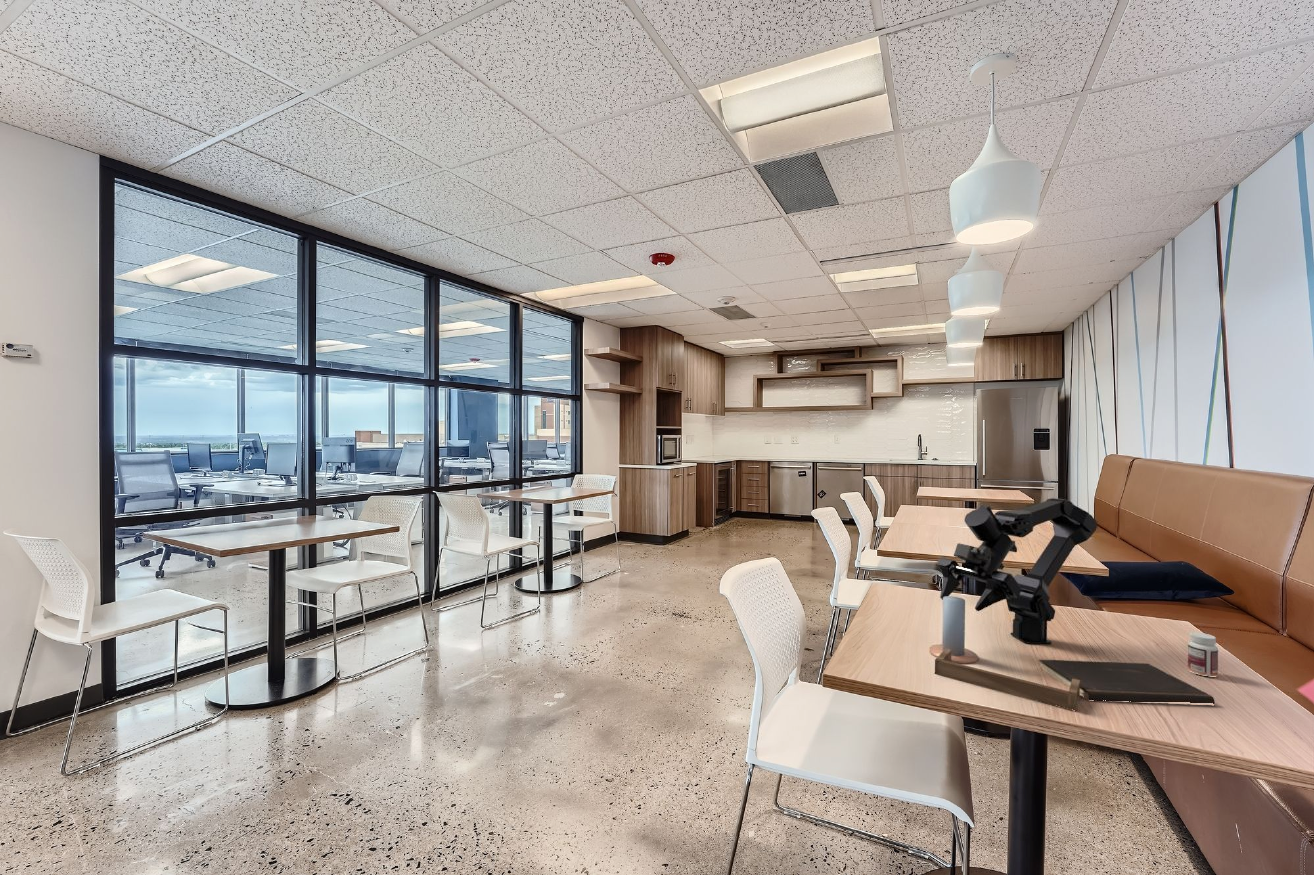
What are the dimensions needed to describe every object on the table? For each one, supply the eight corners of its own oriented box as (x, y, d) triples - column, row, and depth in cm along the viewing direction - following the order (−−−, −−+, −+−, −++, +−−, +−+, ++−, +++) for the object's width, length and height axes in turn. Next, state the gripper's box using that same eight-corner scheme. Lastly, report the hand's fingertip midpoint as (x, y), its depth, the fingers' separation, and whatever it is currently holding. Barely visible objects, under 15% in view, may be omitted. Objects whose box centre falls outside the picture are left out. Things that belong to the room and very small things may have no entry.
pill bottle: (1209, 670, 124) (1210, 633, 124) (1223, 679, 120) (1223, 640, 120) (1182, 667, 126) (1183, 630, 126) (1194, 676, 121) (1195, 637, 121)
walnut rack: (945, 661, 127) (945, 648, 127) (1079, 695, 111) (1079, 680, 111) (934, 673, 121) (934, 659, 121) (1075, 711, 105) (1075, 695, 105)
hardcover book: (1038, 669, 125) (1038, 659, 125) (1147, 673, 124) (1147, 663, 124) (1088, 704, 109) (1089, 692, 109) (1214, 709, 108) (1215, 697, 108)
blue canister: (951, 647, 134) (952, 595, 134) (969, 654, 130) (969, 600, 130) (937, 650, 133) (938, 597, 133) (954, 657, 128) (955, 602, 128)
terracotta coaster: (963, 647, 136) (963, 644, 136) (986, 663, 126) (986, 661, 126) (921, 646, 137) (921, 643, 137) (942, 663, 127) (942, 660, 127)
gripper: (941, 525, 143) (908, 573, 138) (1013, 538, 125) (978, 593, 121) (963, 554, 146) (931, 601, 142) (1035, 570, 129) (1002, 624, 124)
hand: (958, 604), depth 132 cm, fingers open, 9 cm apart
